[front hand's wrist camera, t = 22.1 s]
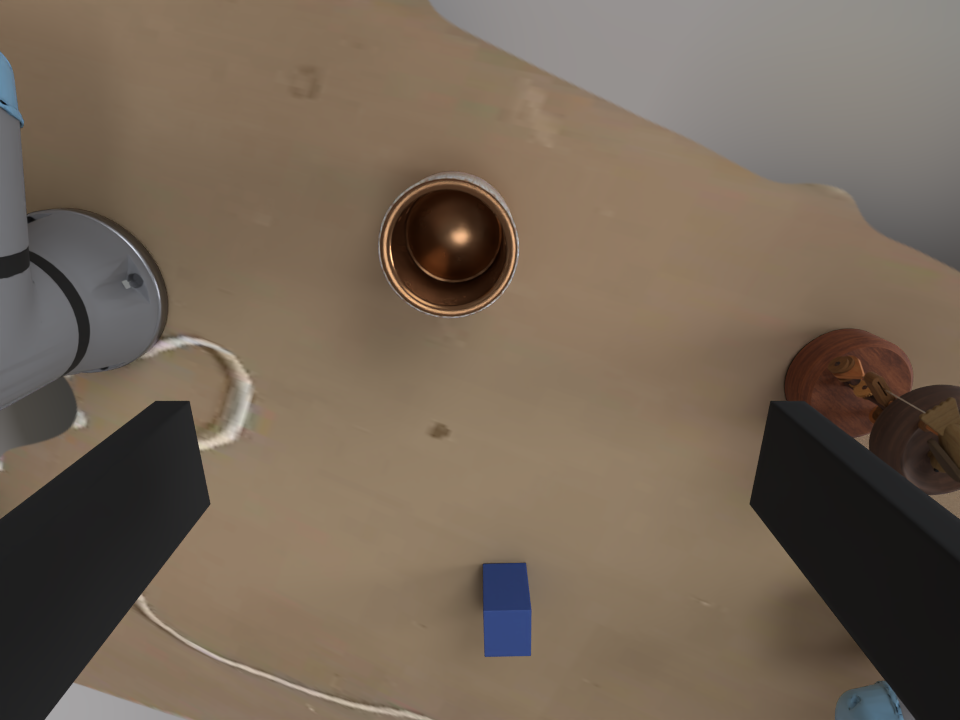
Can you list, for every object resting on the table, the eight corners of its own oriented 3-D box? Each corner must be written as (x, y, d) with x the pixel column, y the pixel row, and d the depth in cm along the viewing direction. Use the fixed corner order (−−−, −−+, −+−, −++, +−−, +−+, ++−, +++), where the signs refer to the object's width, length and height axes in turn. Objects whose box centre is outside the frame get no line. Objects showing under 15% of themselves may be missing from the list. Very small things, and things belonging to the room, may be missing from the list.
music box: (747, 389, 56) (899, 488, 37) (819, 298, 54) (1022, 354, 34) (855, 459, 59) (1049, 585, 40) (927, 376, 56) (1171, 467, 37)
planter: (522, 181, 49) (532, 187, 40) (502, 299, 53) (507, 329, 44) (400, 161, 48) (382, 163, 39) (389, 282, 52) (370, 309, 43)
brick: (484, 606, 66) (484, 657, 60) (482, 563, 64) (483, 611, 57) (525, 605, 66) (530, 656, 60) (525, 562, 64) (531, 610, 57)
